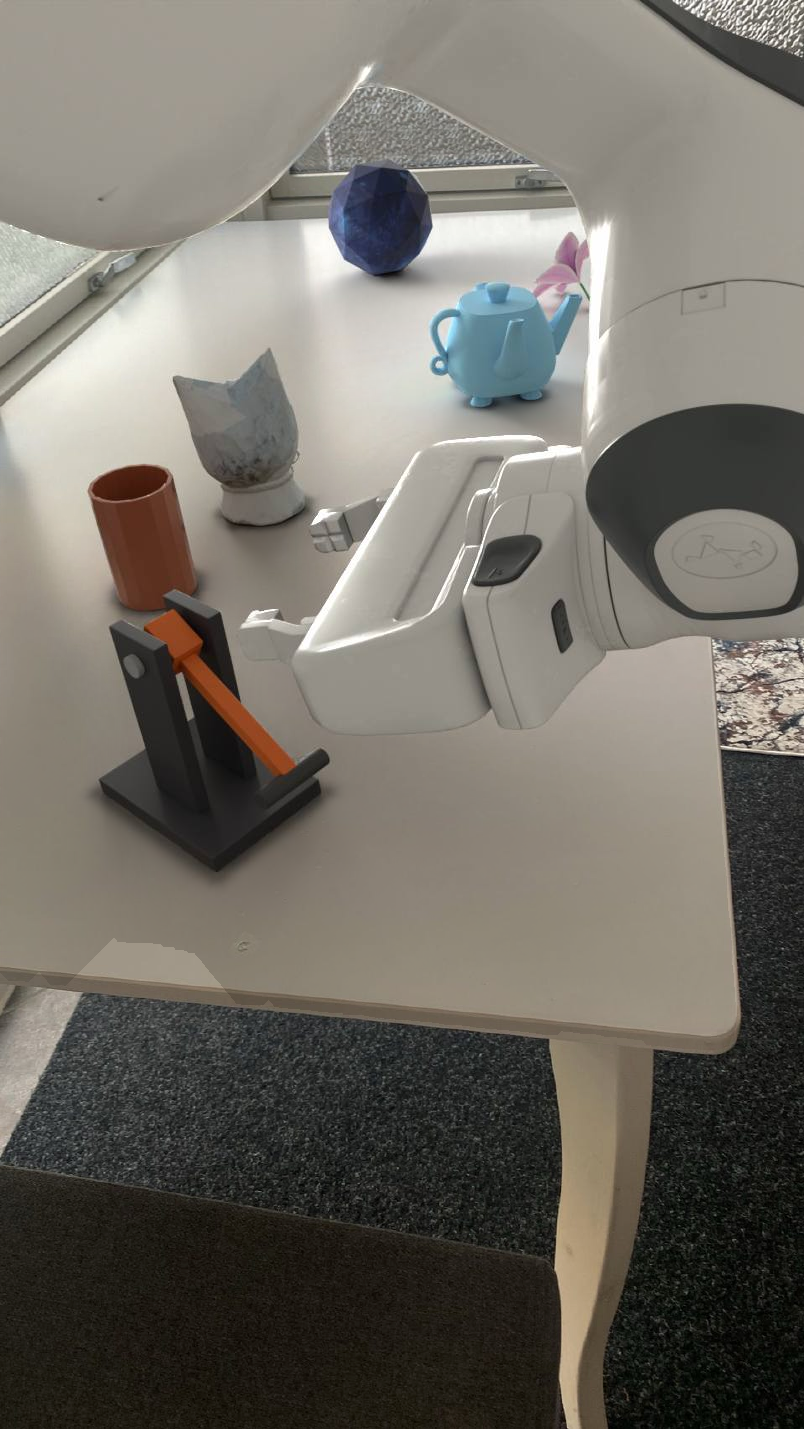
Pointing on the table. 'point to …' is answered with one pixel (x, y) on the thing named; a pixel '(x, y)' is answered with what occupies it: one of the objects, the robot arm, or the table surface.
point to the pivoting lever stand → (192, 748)
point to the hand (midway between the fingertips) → (283, 581)
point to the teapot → (501, 342)
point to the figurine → (247, 441)
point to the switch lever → (234, 711)
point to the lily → (564, 266)
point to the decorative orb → (380, 217)
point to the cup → (143, 534)
